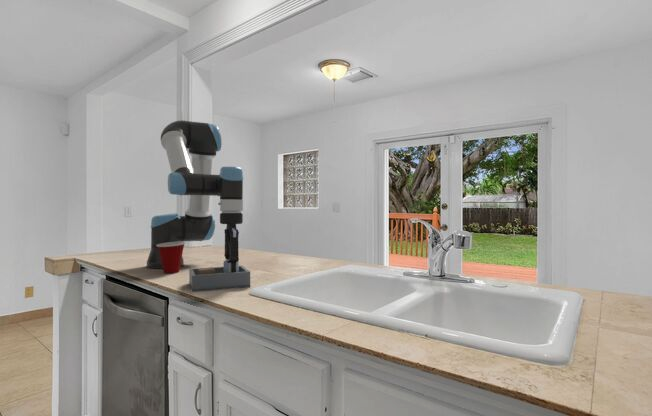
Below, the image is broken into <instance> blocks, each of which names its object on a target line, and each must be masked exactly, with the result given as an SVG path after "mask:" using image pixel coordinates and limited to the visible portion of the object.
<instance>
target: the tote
mask: <svg viewBox="0 0 652 416" xmlns="http://www.w3.org/2000/svg"><path fill="white" fill-rule="evenodd" d="M198 268H199V267H197V268H196V267H195V268H189V273H188V274H189V276H188V281H189V283H188V284H189V287H190V290H191V293H195V292H196V293H197V292H206V291H207V292H208V291H220V290H230V289H231V290H232V289H242V288H251V271H250V269H249V270H248V269H247V268H246V267H244V266H243V265H239V272H232V273H224V266H215V267H214V268H215V274H203V275H198Z"/></svg>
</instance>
